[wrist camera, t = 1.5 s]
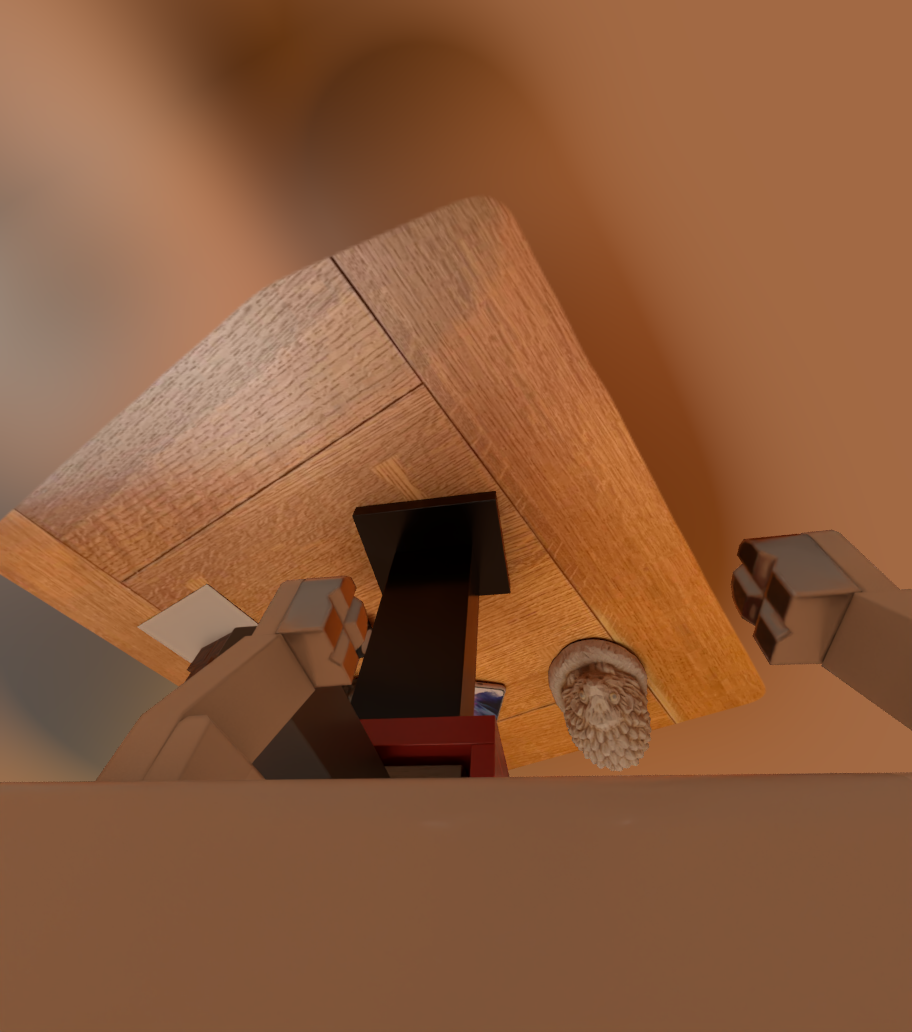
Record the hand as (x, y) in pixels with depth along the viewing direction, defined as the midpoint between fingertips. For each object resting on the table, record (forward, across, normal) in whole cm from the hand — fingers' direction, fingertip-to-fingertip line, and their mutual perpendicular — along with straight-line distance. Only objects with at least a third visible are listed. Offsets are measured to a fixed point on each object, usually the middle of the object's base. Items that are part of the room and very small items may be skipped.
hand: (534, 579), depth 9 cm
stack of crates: (+28, +42, +33) cm, 60 cm away
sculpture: (+28, -6, +45) cm, 54 cm away
